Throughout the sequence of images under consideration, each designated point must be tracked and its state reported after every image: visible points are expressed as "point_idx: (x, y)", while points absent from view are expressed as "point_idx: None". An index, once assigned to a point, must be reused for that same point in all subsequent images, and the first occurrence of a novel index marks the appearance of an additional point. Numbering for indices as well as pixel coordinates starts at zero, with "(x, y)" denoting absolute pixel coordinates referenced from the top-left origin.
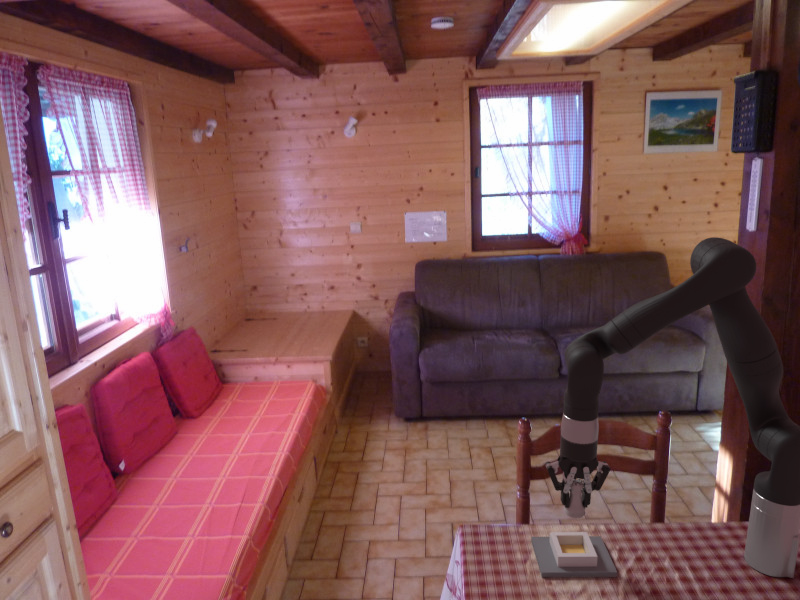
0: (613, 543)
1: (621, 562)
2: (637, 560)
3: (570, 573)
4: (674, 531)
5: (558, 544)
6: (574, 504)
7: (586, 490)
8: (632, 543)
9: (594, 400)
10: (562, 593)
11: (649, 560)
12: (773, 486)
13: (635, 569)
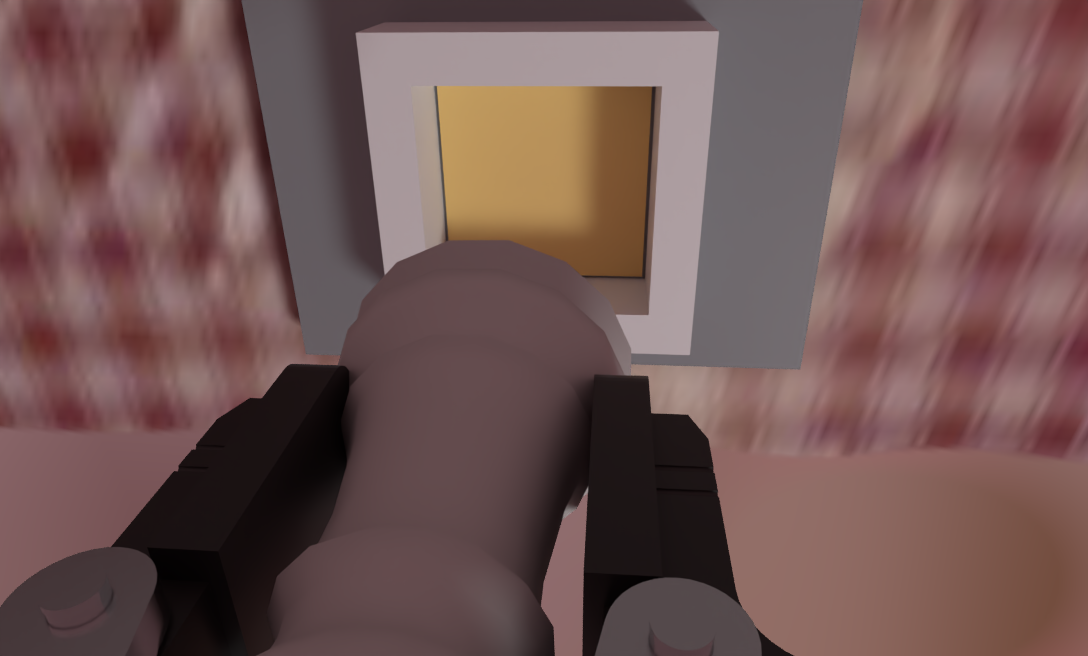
0: (237, 309)
1: (203, 118)
2: (92, 138)
3: None
4: None
5: (664, 204)
6: (495, 389)
7: (142, 610)
8: (116, 305)
9: None
10: None
11: (13, 137)
12: None
13: (111, 39)
